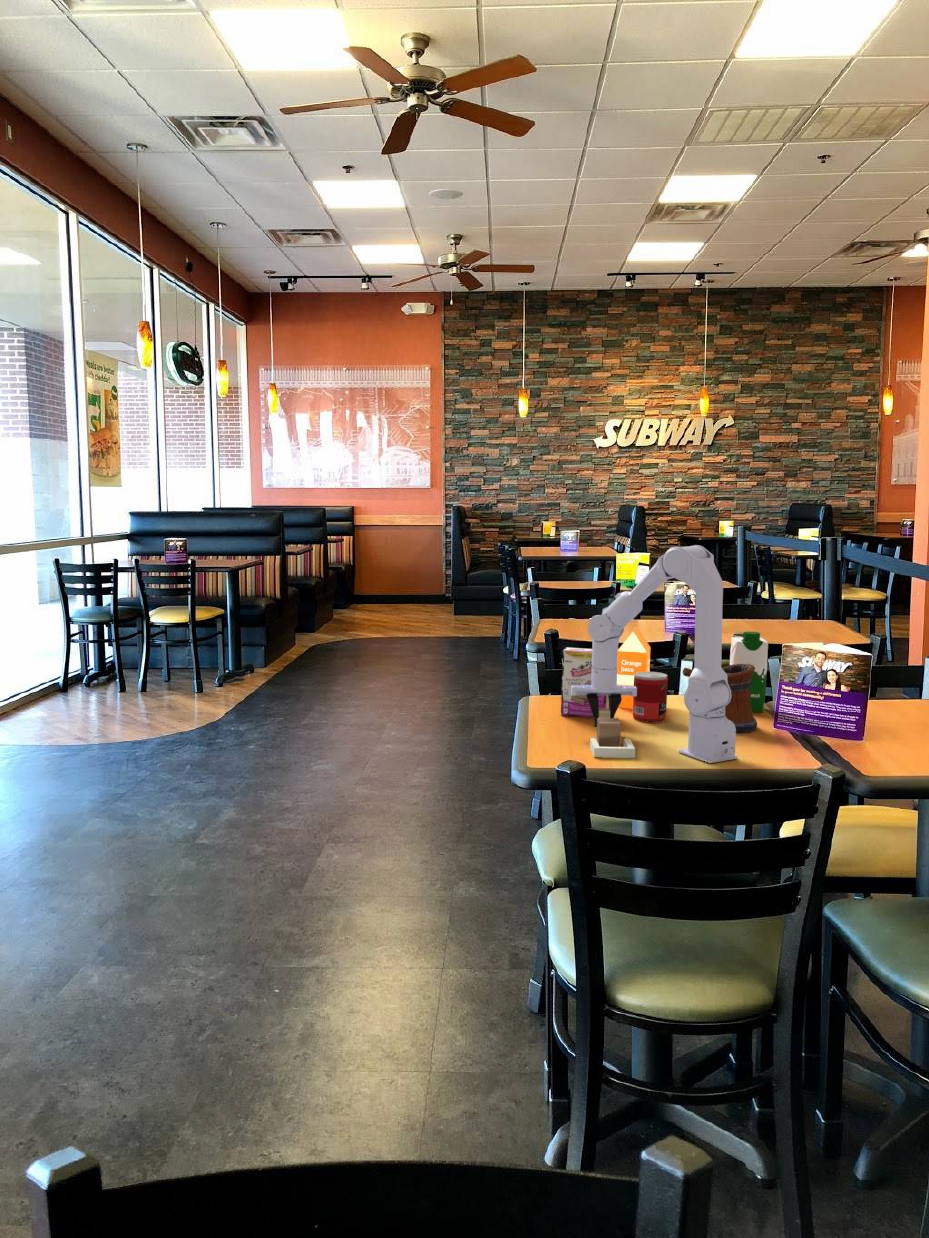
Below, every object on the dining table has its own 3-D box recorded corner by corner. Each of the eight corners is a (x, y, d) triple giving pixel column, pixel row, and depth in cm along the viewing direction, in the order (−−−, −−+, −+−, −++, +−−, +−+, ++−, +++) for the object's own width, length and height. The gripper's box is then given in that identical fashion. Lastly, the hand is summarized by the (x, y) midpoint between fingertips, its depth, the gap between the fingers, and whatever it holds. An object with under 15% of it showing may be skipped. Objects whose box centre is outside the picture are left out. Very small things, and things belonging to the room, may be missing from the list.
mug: (689, 734, 211) (692, 670, 209) (672, 722, 223) (675, 660, 220) (765, 733, 213) (769, 669, 211) (745, 721, 224) (748, 659, 222)
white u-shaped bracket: (634, 758, 192) (635, 748, 192) (594, 757, 192) (594, 748, 192) (629, 748, 200) (629, 738, 199) (589, 747, 200) (590, 738, 200)
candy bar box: (560, 716, 228) (561, 650, 225) (563, 711, 232) (564, 646, 230) (606, 719, 225) (608, 652, 223) (608, 714, 230) (610, 649, 227)
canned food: (666, 723, 221) (667, 678, 220) (632, 721, 223) (633, 676, 221) (665, 716, 229) (667, 672, 227) (632, 714, 230) (634, 670, 229)
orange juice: (614, 707, 238) (616, 629, 235) (619, 700, 246) (621, 625, 243) (645, 709, 235) (648, 631, 233) (649, 702, 244) (651, 626, 241)
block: (619, 748, 199) (620, 721, 198) (598, 748, 199) (599, 720, 198) (612, 734, 211) (613, 708, 210) (592, 733, 211) (593, 707, 210)
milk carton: (731, 712, 233) (735, 633, 230) (725, 704, 242) (729, 628, 239) (767, 713, 232) (771, 634, 229) (760, 705, 241) (764, 629, 238)
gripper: (634, 664, 213) (632, 722, 215) (570, 663, 214) (569, 721, 216) (639, 670, 206) (636, 730, 208) (573, 669, 207) (572, 729, 209)
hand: (602, 726), depth 211 cm, fingers closed on block, 2 cm apart
